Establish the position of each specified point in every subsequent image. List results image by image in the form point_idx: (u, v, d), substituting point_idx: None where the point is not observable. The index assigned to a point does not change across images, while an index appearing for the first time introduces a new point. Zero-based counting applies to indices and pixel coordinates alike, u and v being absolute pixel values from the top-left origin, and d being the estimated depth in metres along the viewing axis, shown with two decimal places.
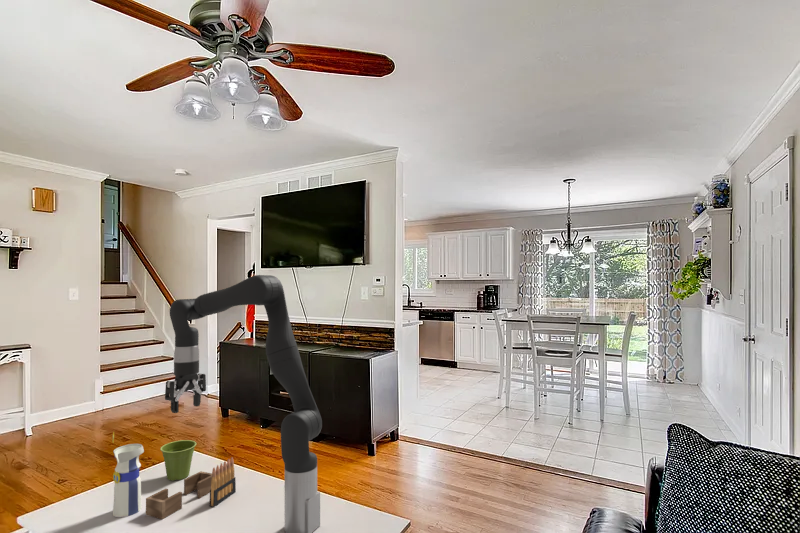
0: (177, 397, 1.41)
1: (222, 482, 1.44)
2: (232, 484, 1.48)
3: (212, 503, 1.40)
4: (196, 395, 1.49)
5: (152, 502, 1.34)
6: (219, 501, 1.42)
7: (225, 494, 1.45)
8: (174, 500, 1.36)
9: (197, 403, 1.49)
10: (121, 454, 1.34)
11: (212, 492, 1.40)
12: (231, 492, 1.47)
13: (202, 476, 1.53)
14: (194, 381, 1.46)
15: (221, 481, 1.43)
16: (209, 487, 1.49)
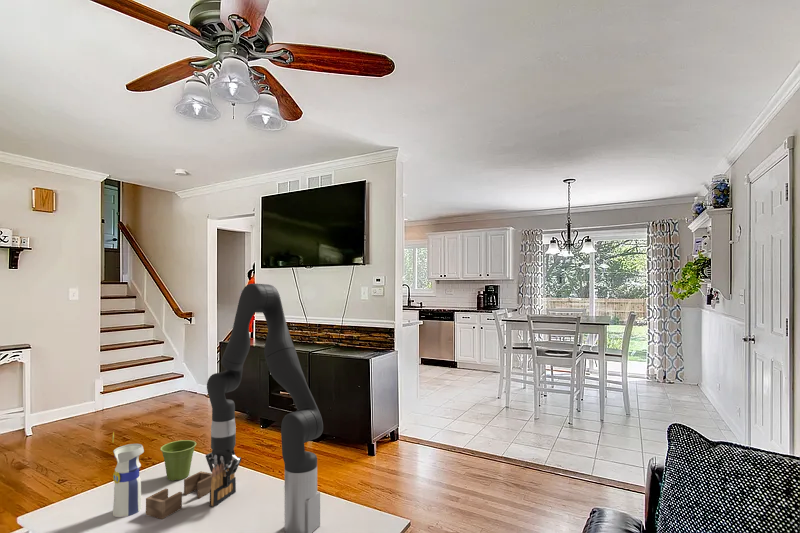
0: None
1: (222, 482, 1.44)
2: (232, 484, 1.48)
3: (212, 503, 1.40)
4: None
5: (152, 502, 1.34)
6: (219, 501, 1.42)
7: (225, 494, 1.45)
8: (174, 500, 1.36)
9: None
10: (121, 454, 1.34)
11: (212, 492, 1.40)
12: (231, 492, 1.47)
13: (202, 476, 1.53)
14: None
15: (221, 481, 1.43)
16: (209, 487, 1.49)
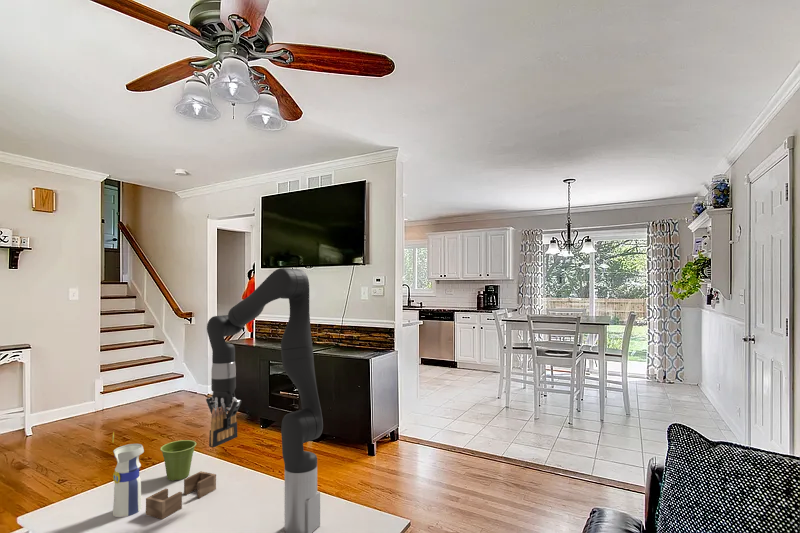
0: None
1: (222, 424, 1.44)
2: (233, 428, 1.49)
3: (211, 443, 1.41)
4: None
5: (152, 502, 1.34)
6: (219, 442, 1.42)
7: (226, 437, 1.46)
8: (174, 500, 1.36)
9: None
10: (121, 454, 1.34)
11: (211, 432, 1.41)
12: (232, 436, 1.48)
13: (202, 476, 1.53)
14: None
15: (222, 424, 1.44)
16: (209, 487, 1.49)
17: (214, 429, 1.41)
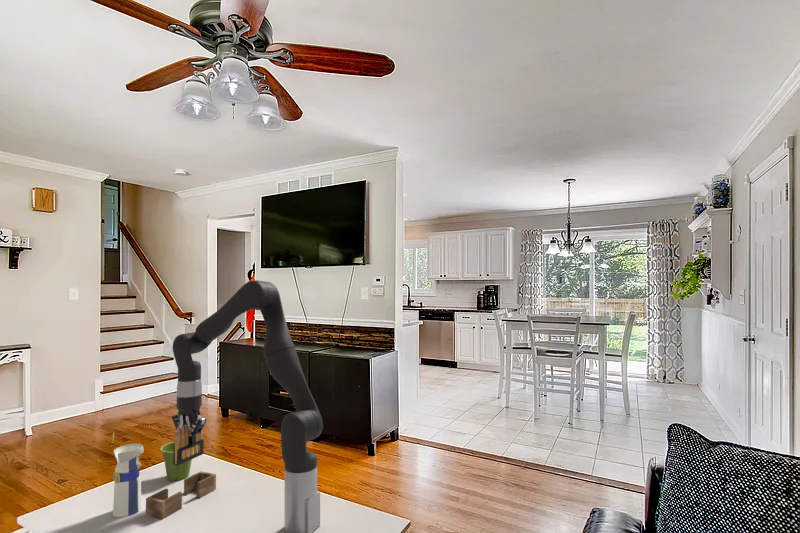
0: None
1: (187, 442, 1.45)
2: (199, 445, 1.49)
3: (176, 461, 1.41)
4: None
5: (152, 502, 1.34)
6: (183, 460, 1.43)
7: (191, 454, 1.46)
8: (174, 500, 1.36)
9: None
10: (121, 454, 1.34)
11: (176, 451, 1.41)
12: (198, 453, 1.48)
13: (202, 476, 1.53)
14: None
15: (187, 441, 1.44)
16: (209, 487, 1.49)
17: (178, 447, 1.41)
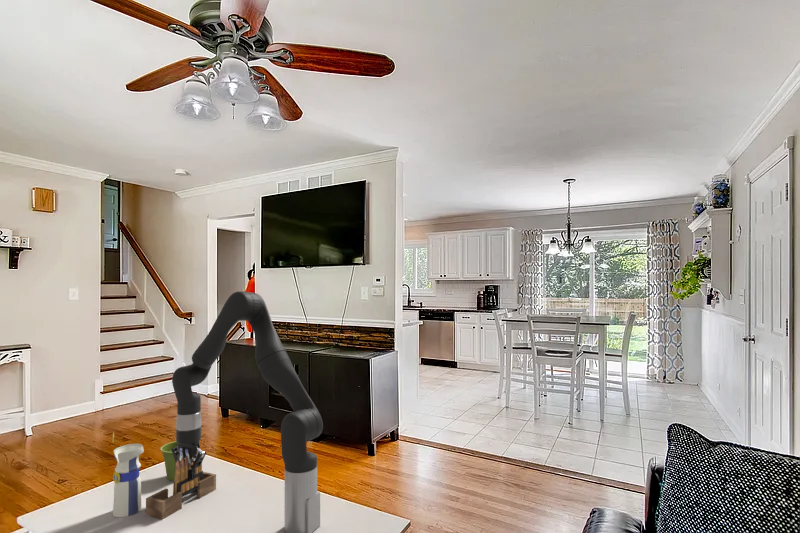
0: None
1: (187, 475, 1.44)
2: (199, 478, 1.49)
3: None
4: None
5: (152, 502, 1.34)
6: (183, 494, 1.42)
7: (191, 487, 1.45)
8: (174, 500, 1.36)
9: None
10: (121, 454, 1.34)
11: (175, 485, 1.41)
12: None
13: None
14: None
15: (186, 475, 1.44)
16: (209, 487, 1.49)
17: (178, 481, 1.41)
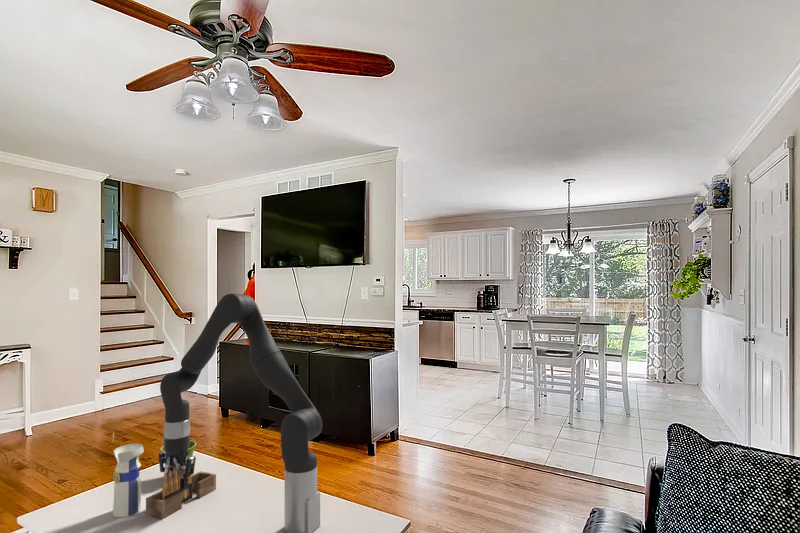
0: None
1: (175, 487, 1.40)
2: (188, 490, 1.45)
3: None
4: None
5: (152, 502, 1.34)
6: None
7: None
8: (174, 500, 1.36)
9: None
10: (121, 454, 1.34)
11: (163, 498, 1.36)
12: (187, 498, 1.44)
13: (202, 476, 1.53)
14: None
15: (175, 487, 1.40)
16: (209, 487, 1.49)
17: (166, 494, 1.37)
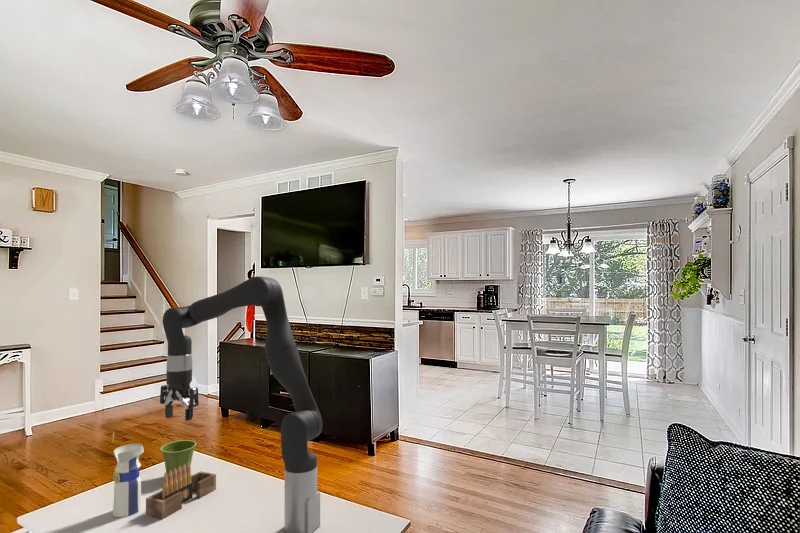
0: None
1: (175, 487, 1.40)
2: (188, 490, 1.45)
3: None
4: (170, 406, 1.45)
5: (152, 502, 1.34)
6: None
7: None
8: (174, 500, 1.36)
9: (171, 413, 1.45)
10: (121, 454, 1.34)
11: (163, 498, 1.36)
12: (187, 498, 1.44)
13: (202, 476, 1.53)
14: None
15: (175, 487, 1.40)
16: (209, 487, 1.49)
17: (166, 494, 1.37)
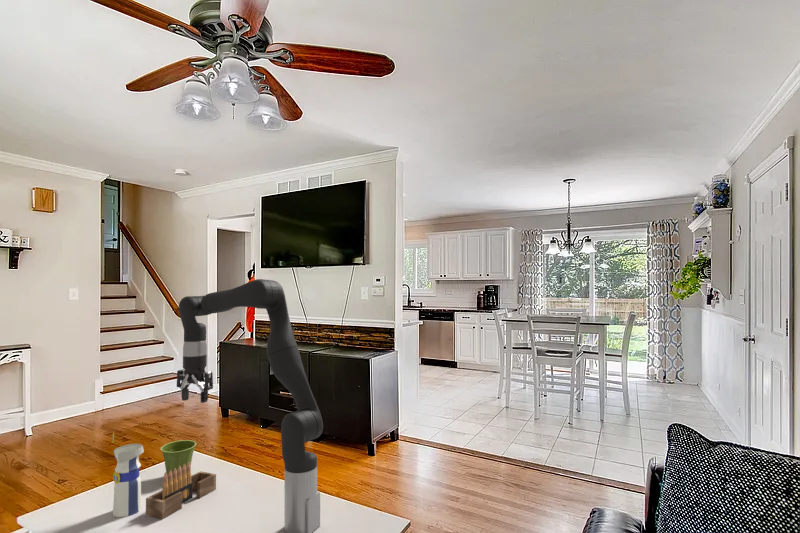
0: None
1: (175, 487, 1.40)
2: (188, 490, 1.45)
3: None
4: (186, 389, 1.54)
5: (152, 502, 1.34)
6: None
7: None
8: (174, 500, 1.36)
9: (187, 396, 1.54)
10: (121, 454, 1.34)
11: (163, 498, 1.36)
12: (187, 498, 1.44)
13: (202, 476, 1.53)
14: None
15: (175, 487, 1.40)
16: (209, 487, 1.49)
17: (166, 494, 1.37)
